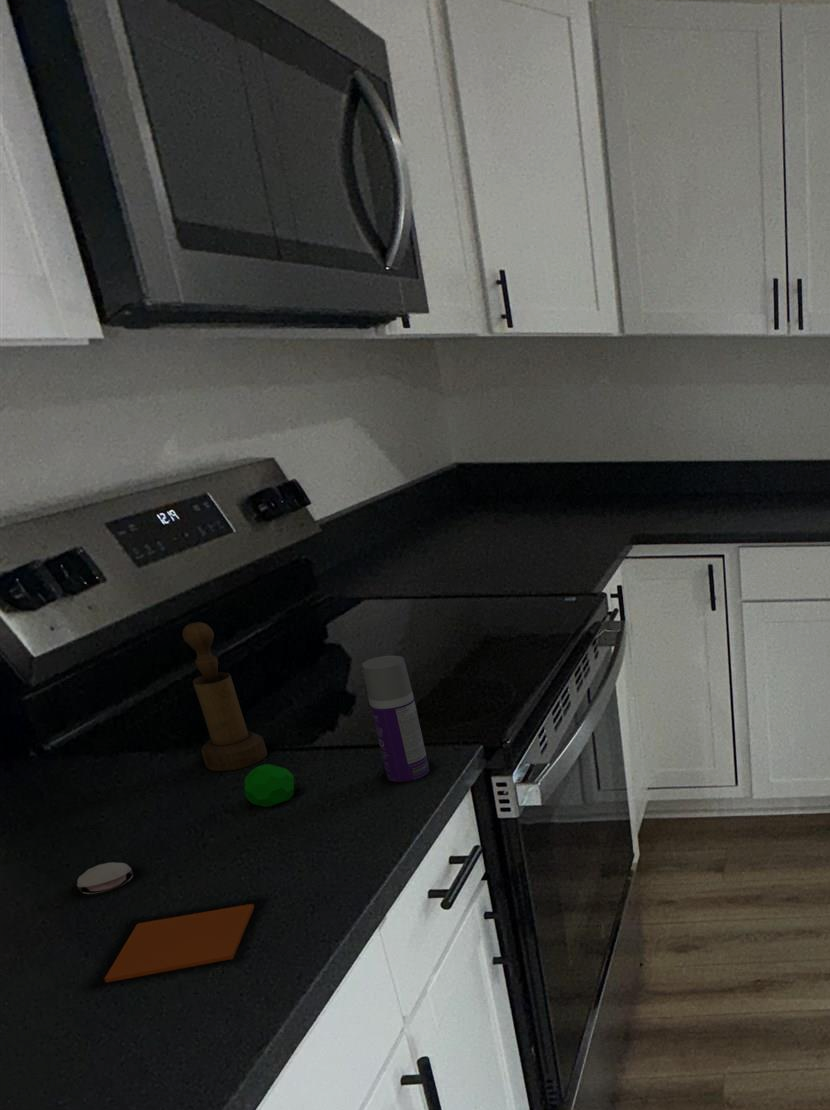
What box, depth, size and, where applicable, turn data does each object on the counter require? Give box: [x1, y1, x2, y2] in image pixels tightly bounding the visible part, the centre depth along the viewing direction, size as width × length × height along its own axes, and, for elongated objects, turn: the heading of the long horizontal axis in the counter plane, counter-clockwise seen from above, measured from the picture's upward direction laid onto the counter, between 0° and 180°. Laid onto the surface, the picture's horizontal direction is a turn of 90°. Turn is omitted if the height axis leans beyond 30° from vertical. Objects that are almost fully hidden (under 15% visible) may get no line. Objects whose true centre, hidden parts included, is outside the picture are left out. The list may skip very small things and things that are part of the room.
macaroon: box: [76, 861, 134, 895], centre depth 90 cm, size 4×5×2 cm
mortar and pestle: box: [181, 621, 268, 772], centre depth 113 cm, size 7×6×18 cm
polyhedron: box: [244, 763, 295, 808], centre depth 105 cm, size 5×5×5 cm
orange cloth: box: [104, 903, 255, 983], centre depth 82 cm, size 10×9×1 cm
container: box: [361, 655, 430, 783], centre depth 109 cm, size 5×5×15 cm
